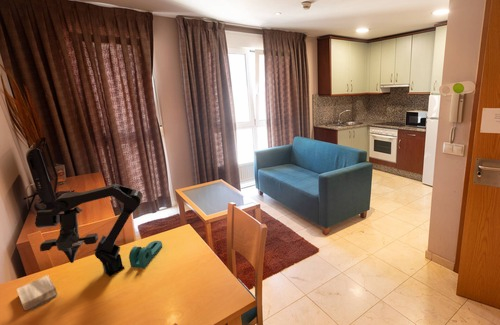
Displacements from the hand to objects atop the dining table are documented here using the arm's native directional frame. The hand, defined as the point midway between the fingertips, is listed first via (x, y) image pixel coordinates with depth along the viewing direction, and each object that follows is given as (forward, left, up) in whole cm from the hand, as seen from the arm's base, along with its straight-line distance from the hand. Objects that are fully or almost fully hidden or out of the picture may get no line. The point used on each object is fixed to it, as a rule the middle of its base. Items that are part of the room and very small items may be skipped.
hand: (72, 262), depth 104 cm
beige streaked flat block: (+7, -5, -8) cm, 12 cm away
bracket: (-28, +7, -10) cm, 31 cm away
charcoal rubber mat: (+12, -5, -10) cm, 16 cm away
